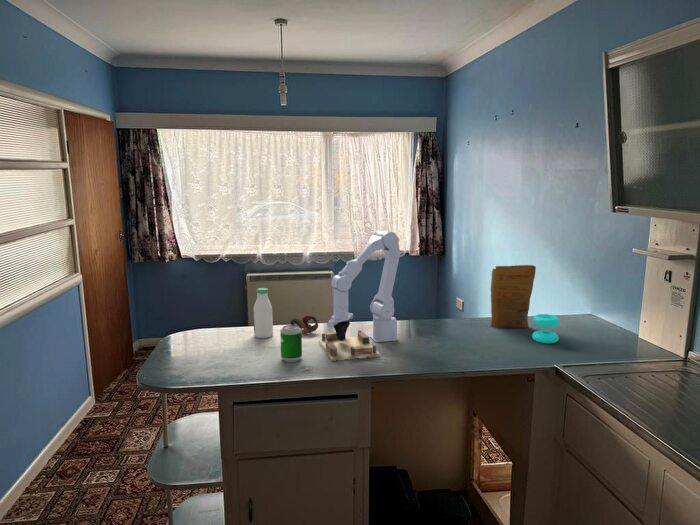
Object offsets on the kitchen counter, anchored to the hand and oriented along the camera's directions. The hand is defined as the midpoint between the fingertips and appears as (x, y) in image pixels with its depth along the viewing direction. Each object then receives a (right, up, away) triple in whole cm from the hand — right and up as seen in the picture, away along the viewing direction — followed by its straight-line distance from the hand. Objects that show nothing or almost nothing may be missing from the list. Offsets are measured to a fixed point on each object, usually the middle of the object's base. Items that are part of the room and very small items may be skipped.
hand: (341, 340), depth 193 cm
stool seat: (+3, -3, -4) cm, 6 cm away
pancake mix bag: (+74, +1, +25) cm, 78 cm away
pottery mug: (-16, 0, +18) cm, 24 cm away
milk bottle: (-32, 0, +13) cm, 35 cm away
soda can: (-18, -5, -15) cm, 24 cm away
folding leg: (-2, 0, +4) cm, 5 cm away
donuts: (+82, -1, +7) cm, 82 cm away
